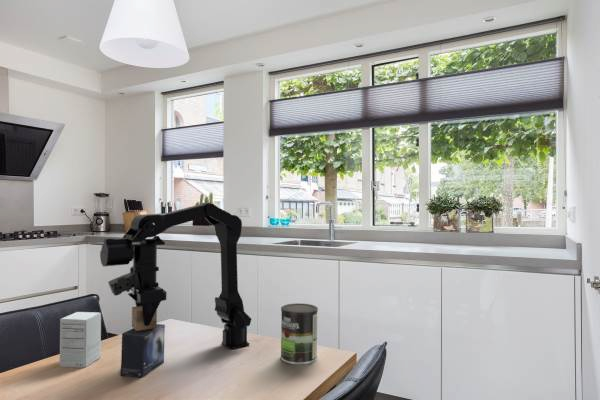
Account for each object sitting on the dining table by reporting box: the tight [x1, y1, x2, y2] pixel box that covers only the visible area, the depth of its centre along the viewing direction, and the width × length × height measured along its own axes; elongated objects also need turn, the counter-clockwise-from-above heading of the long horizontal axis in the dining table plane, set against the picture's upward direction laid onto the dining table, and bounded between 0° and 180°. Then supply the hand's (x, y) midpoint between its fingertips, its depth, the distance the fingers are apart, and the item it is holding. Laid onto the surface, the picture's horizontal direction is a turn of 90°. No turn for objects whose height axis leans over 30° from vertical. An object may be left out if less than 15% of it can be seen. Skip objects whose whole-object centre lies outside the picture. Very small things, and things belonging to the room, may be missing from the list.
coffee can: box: [280, 303, 319, 366], centre depth 114 cm, size 10×10×14 cm
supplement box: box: [59, 311, 102, 368], centre depth 110 cm, size 7×7×13 cm
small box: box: [119, 323, 166, 378], centre depth 106 cm, size 11×6×10 cm, turn 168°
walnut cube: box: [131, 306, 158, 331], centre depth 106 cm, size 5×5×5 cm
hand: (144, 323), depth 106 cm, fingers closed on walnut cube, 5 cm apart
